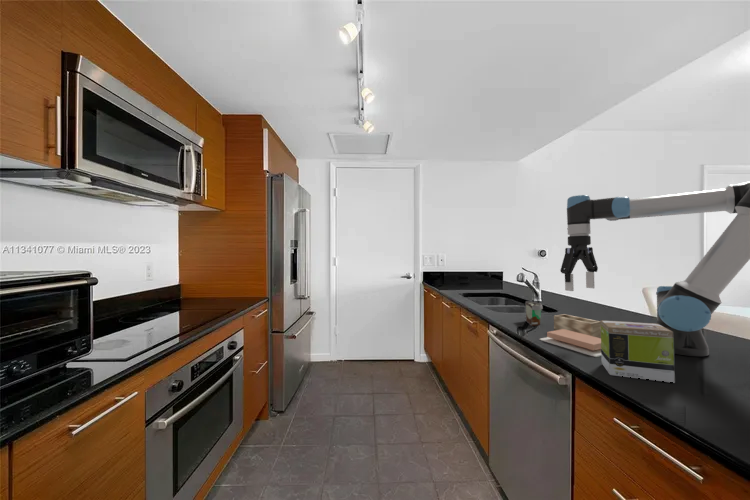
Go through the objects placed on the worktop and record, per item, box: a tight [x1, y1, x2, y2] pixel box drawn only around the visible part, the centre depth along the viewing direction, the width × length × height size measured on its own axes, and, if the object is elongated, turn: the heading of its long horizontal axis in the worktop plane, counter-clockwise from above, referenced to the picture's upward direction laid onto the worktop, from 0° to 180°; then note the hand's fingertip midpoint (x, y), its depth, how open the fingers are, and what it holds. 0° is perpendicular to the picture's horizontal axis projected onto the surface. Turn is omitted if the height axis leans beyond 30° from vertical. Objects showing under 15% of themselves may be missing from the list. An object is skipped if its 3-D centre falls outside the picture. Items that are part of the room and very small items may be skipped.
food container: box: [525, 300, 544, 327], centre depth 152 cm, size 12×6×10 cm, turn 168°
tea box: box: [600, 320, 676, 384], centre depth 93 cm, size 15×10×15 cm
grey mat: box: [539, 336, 601, 358], centre depth 119 cm, size 22×14×1 cm, turn 24°
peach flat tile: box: [546, 329, 601, 350], centre depth 119 cm, size 18×10×3 cm, turn 24°
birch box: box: [553, 313, 601, 338], centre depth 132 cm, size 16×7×7 cm, turn 24°
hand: (580, 289), depth 121 cm, fingers open, 13 cm apart
